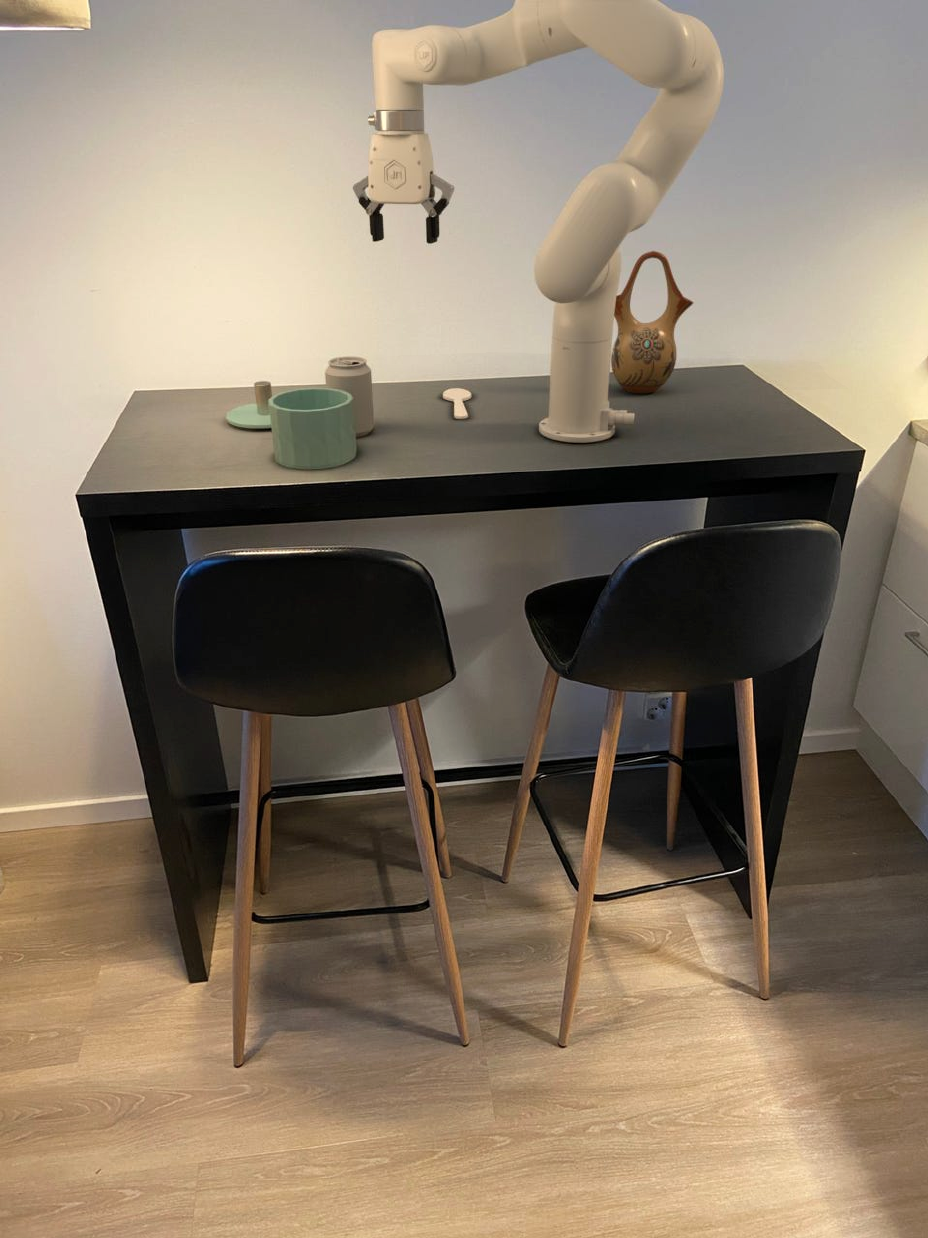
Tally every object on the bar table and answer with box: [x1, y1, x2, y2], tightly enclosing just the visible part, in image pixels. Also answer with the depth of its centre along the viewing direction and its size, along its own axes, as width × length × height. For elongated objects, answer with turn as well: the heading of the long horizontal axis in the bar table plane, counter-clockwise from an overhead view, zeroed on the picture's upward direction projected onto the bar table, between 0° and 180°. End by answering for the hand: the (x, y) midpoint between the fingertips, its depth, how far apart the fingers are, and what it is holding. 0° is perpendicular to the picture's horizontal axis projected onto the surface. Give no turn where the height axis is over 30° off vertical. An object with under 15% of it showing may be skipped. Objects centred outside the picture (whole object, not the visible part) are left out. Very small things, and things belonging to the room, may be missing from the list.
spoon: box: [442, 387, 472, 420], centre depth 166 cm, size 5×18×1 cm, turn 3°
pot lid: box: [225, 380, 273, 430], centre depth 158 cm, size 14×14×6 cm
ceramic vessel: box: [610, 250, 694, 395], centre depth 167 cm, size 16×9×25 cm, turn 93°
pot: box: [268, 387, 358, 471], centre depth 141 cm, size 13×13×9 cm
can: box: [324, 355, 375, 438], centre depth 150 cm, size 8×8×12 cm
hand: (404, 241), depth 151 cm, fingers open, 9 cm apart
